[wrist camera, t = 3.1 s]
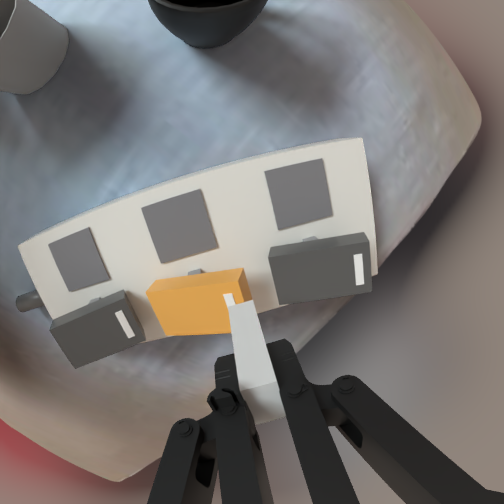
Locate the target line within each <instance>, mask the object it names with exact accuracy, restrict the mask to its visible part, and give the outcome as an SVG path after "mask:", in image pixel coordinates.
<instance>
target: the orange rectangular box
mask: <svg viewBox="0 0 504 504" xmlns="http://www.w3.org/2000/svg"><path fill="white" fill-rule="evenodd" d="M145 293H146V295H147V297H148V299H149V302H150V304H151V306H152V308H153V310H154V312H155V314H156V316H157V318H158V320H159V322H160V324H161V326H162V328H163V330H164V332H165V334H166V336H176V335H203V334H221V333H231V326H230V319H229V311H228V307H229V306H232V305H236V304H240V303H243V302H247V301H250V300H253V299H252V295H251V292H250V289H249V285H248V282H247V278H246V275H245V271H244V268H236V269H230V270H223V271H216V272H209V273H202V274H195V275H188V276H180V277H173V278H166V279H159V280H155V282H154V283H153V284H152V285H151V286H150V287H149V289H148V290H147V291H146V292H145Z"/></svg>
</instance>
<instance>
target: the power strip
mask: <svg viewBox="0 0 504 504" xmlns="http://www.w3.org/2000/svg"><path fill="white" fill-rule="evenodd" d="M360 232H364V233H365V234H366V236H367V238H368V240H369V243H370V256H371V274H372V276H374V275H376V274H378V270H377V250H376V236H375V224H374V214H373V205H372V196H371V189H370V181H369V174H368V168H367V162H366V156H365V150H364V145H363V139H362V138H340V139H332V140H327V141H321V142H316V143H310V144H305V145H300V146H295V147H291V148H286V149H281V150H277V151H272V152H268V153H264V154H259V155H255V156H251V157H247V158H243V159H239V160H236V161H232V162H228V163H224V164H221V165H217V166H214V167H210V168H207V169H203V170H200V171H196V172H193V173H190V174H187V175H183V176H180V177H177V178H174V179H171V180H168V181H165V182H162V183H159V184H156V185H153V186H150V187H147V188H144V189H141V190H139V191H136V192H133V193H130V194H128V195H125V196H122V197H120V198H117V199H114V200H112V201H109V202H107V203H104V204H102V205H99V206H97V207H94V208H92V209H90V210H87V211H85V212H82V213H80V214H78V215H75V216H73V217H71V218H69V219H66V220H64V221H62V222H60V223H57V224H55V225H53V226H51V227H49V228H47V229H45V230H43V231H41V232H39V233H37V234H36V235H34V236H32V237H31V238H29V239H28V240H26V241H24V242H23V243H21V244H20V245H18V249H19V251H20V254H21V256H22V258H23V261H24V263H25V265H26V268H27V270H28V272H29V274H30V277H31V279H32V281H33V283H34V285H35V287H36V289H37V290H35V291H32V292H29V293H26V294H23V295H21V296H18V297H17V298H16V306H17V308H18V310H19V311H20V312H25V311H29V310H32V309H35V308H39V307H42V306H45V307H46V308H47V310H48V312H49V314H50V316H51V317H52V319H56V318H58V317H60V316H63V315H65V314H67V313H69V312H72V311H74V310H76V309H79V308H81V307H83V306H85V305H88V304H90V303H92V302H95V301H97V300H99V299H102V298H104V297H106V296H109V295H111V294H113V293H116V292H118V291H120V290H123V289H124V291H125V293H126V295H127V297H128V299H129V301H130V303H131V305H132V307H133V309H134V311H135V313H136V315H137V317H138V319H139V321H140V323H141V325H142V327H143V329H144V333H145V338H146V341H143V342H141V343H144V342H148V341H153V340H157V339H162V338H166V337H171V336H166V334H165V332H164V330H163V328H162V326H161V324H160V322H159V320H158V318H157V316H156V314H155V312H154V310H153V308H152V306H151V304H150V302H149V299H148V297H147V295H146V293H145V292H146V291H147V290H148V289H149V287H150V286H151V285H152V284H153V283H154V282H155V280H159V279H166V278H173V277H180V276H188V275H195V274H202V273H209V272H216V271H223V270H230V269H236V268H244V271H245V275H246V278H247V282H248V285H249V289H250V292H251V295H252V299H253V302H254V306H255V309H256V313H257V314H258V313H262V312H265V311H268V310H272V309H275V308H278V307H282V306H285V305H279V302H278V297H277V293H276V289H275V285H274V281H273V277H272V272H271V268H270V264H269V260H268V255H269V251H270V247H274V246H280V245H286V244H292V243H298V242H305V241H311V240H317V239H323V238H329V237H335V236H341V235H348V234H354V233H360ZM286 305H288V304H286ZM138 344H139V343H138Z"/></svg>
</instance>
